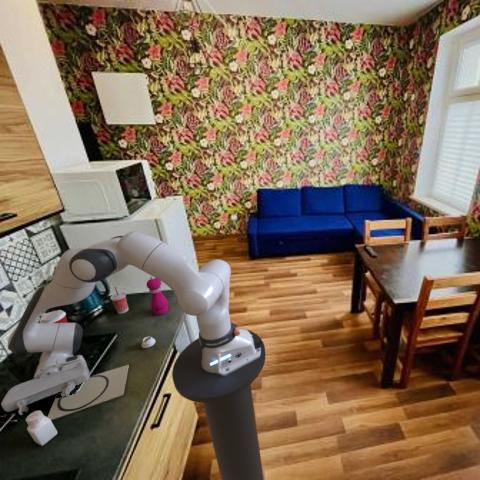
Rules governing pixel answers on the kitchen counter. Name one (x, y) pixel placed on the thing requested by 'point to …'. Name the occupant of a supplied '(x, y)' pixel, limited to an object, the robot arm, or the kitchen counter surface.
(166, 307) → the pepper mill
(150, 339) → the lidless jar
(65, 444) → the kitchen counter surface
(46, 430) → the pepper shaker
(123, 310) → the beverage cup
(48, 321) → the paper cup
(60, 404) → the drawing sheet
